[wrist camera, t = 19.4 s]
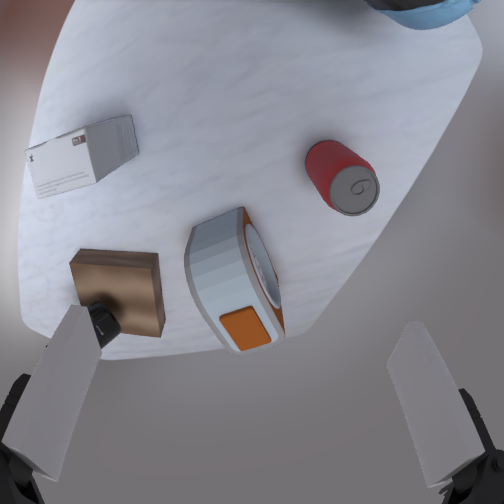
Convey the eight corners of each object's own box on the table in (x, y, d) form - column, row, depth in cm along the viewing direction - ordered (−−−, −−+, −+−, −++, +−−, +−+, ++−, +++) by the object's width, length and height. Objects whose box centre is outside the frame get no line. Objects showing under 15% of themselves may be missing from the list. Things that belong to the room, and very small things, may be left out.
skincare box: (91, 165, 40) (35, 204, 27) (82, 126, 37) (20, 151, 24) (142, 152, 40) (96, 187, 27) (134, 111, 37) (81, 127, 24)
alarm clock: (282, 284, 51) (292, 345, 39) (234, 301, 52) (232, 363, 41) (245, 205, 44) (244, 254, 32) (192, 227, 46) (174, 281, 34)
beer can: (358, 169, 41) (393, 200, 31) (320, 193, 43) (343, 232, 33) (335, 130, 39) (367, 148, 28) (295, 155, 40) (312, 183, 30)
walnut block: (81, 247, 47) (69, 262, 43) (158, 251, 48) (150, 269, 44) (97, 310, 54) (88, 328, 50) (166, 318, 55) (160, 337, 51)
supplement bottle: (115, 313, 42) (55, 364, 34) (128, 337, 46) (75, 384, 39) (91, 289, 44) (35, 334, 37) (104, 314, 49) (54, 356, 42)
